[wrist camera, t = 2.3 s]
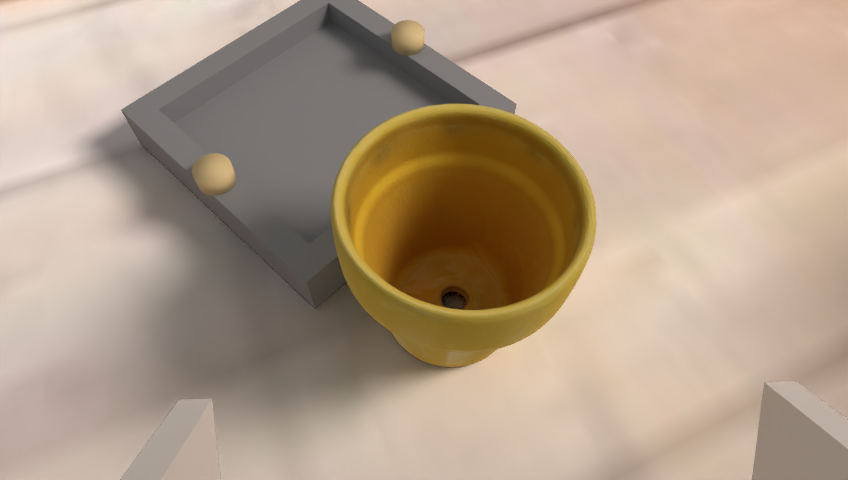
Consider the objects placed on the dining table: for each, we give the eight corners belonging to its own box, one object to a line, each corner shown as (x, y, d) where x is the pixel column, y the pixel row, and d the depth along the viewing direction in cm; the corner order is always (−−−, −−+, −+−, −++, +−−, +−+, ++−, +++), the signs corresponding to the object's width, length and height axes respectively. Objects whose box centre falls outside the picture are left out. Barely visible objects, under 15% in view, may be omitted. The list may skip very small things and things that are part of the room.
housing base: (337, 17, 43) (331, -33, 40) (512, 136, 38) (521, 89, 34) (137, 146, 37) (109, 99, 34) (311, 312, 31) (298, 275, 28)
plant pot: (534, 219, 35) (572, 95, 26) (566, 398, 29) (626, 314, 21) (352, 226, 34) (331, 102, 26) (350, 409, 29) (324, 328, 21)
